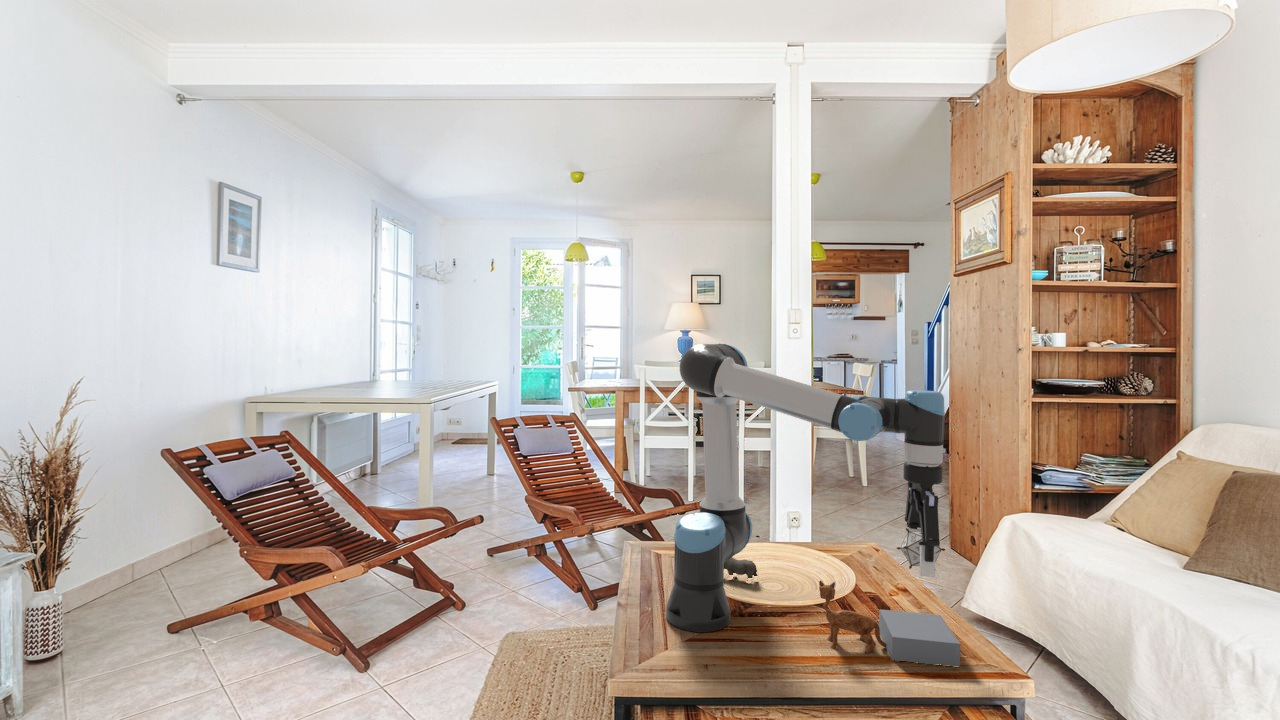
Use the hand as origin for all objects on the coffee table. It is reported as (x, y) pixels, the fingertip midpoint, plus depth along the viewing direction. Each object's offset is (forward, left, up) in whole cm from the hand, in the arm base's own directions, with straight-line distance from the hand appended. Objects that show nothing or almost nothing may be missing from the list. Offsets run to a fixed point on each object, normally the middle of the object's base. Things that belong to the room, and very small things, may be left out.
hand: (920, 566), depth 128 cm
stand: (0, 0, -18) cm, 18 cm away
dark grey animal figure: (-40, +29, -18) cm, 53 cm away
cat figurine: (-12, -1, -19) cm, 22 cm away
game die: (0, 0, 0) cm, 0 cm away
